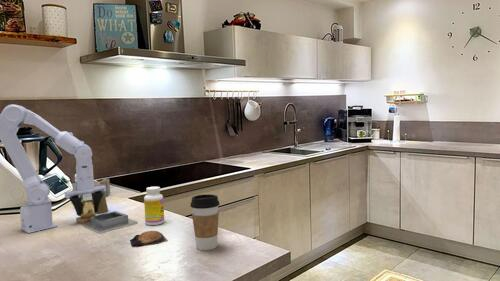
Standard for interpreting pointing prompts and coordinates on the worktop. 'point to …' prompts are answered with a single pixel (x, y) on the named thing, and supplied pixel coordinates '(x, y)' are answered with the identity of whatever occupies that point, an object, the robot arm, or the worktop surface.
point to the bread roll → (148, 239)
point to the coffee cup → (205, 220)
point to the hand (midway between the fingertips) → (87, 213)
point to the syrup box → (83, 197)
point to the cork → (102, 204)
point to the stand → (83, 220)
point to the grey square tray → (108, 222)
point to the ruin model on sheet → (107, 184)
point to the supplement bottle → (154, 206)
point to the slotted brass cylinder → (87, 209)
